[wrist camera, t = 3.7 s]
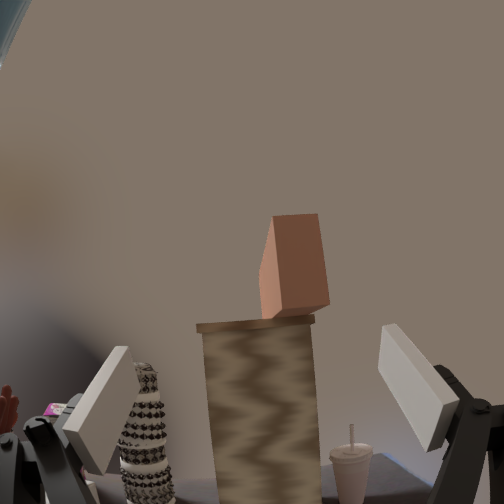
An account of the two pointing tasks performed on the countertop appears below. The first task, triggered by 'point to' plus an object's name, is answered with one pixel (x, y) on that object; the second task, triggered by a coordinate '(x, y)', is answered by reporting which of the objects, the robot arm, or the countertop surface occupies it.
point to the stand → (263, 410)
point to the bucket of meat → (8, 410)
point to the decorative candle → (145, 446)
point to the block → (293, 268)
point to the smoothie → (351, 470)
